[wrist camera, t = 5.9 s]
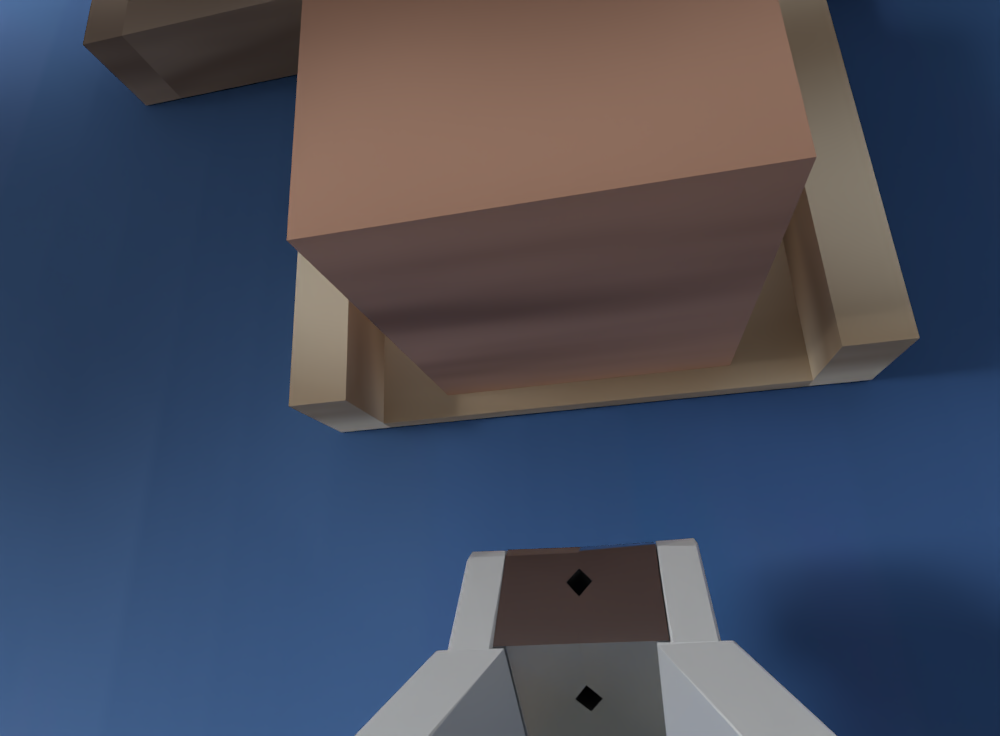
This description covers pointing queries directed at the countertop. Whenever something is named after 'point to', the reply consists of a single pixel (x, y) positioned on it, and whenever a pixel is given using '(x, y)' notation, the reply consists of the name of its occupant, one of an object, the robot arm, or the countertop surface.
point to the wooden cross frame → (419, 400)
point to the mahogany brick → (547, 178)
